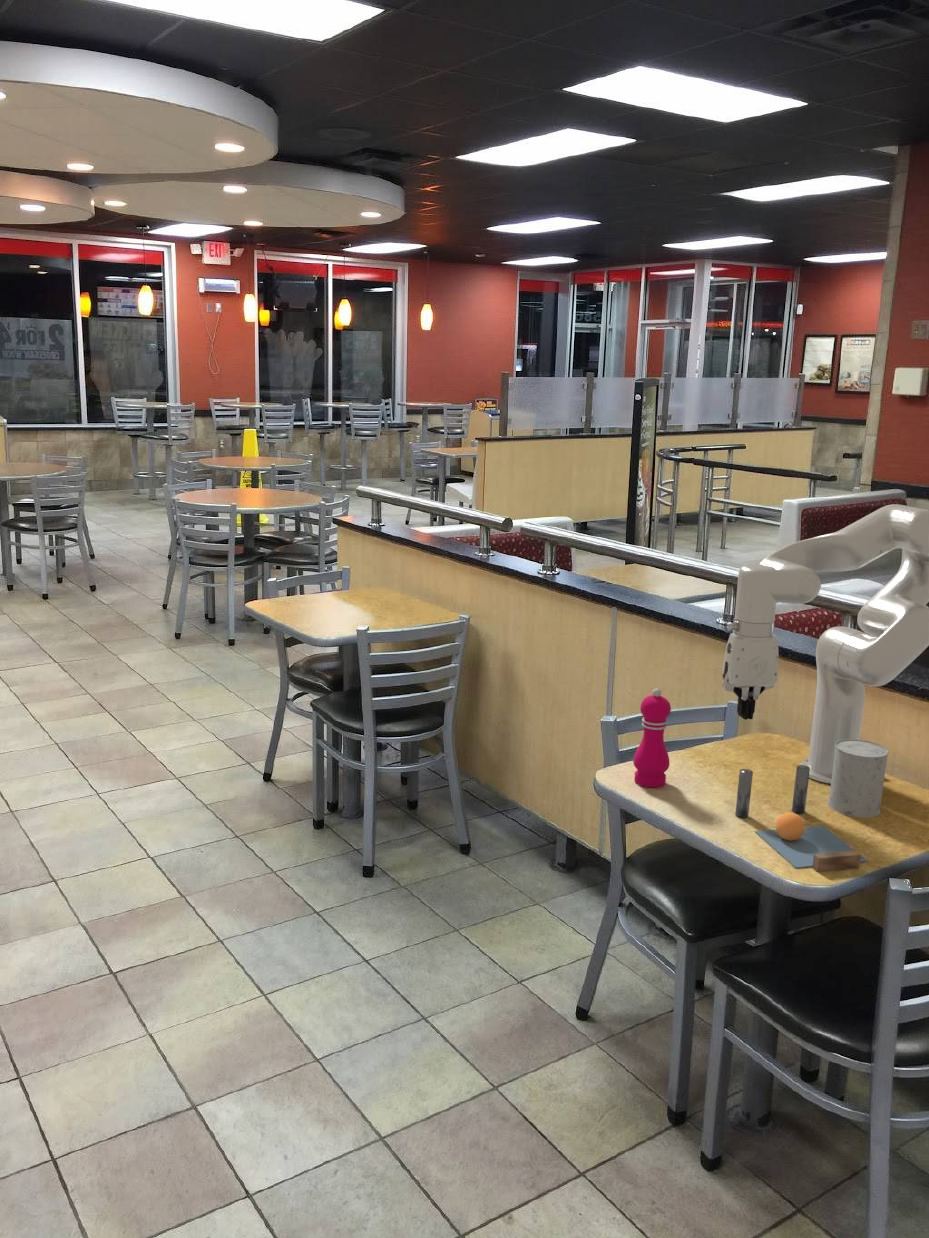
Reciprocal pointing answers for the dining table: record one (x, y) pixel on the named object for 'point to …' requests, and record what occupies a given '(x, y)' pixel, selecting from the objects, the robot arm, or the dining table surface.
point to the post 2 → (800, 789)
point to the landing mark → (806, 845)
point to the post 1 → (744, 793)
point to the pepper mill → (652, 742)
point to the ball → (790, 826)
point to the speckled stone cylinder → (858, 778)
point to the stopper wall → (836, 861)
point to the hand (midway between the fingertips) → (745, 716)
